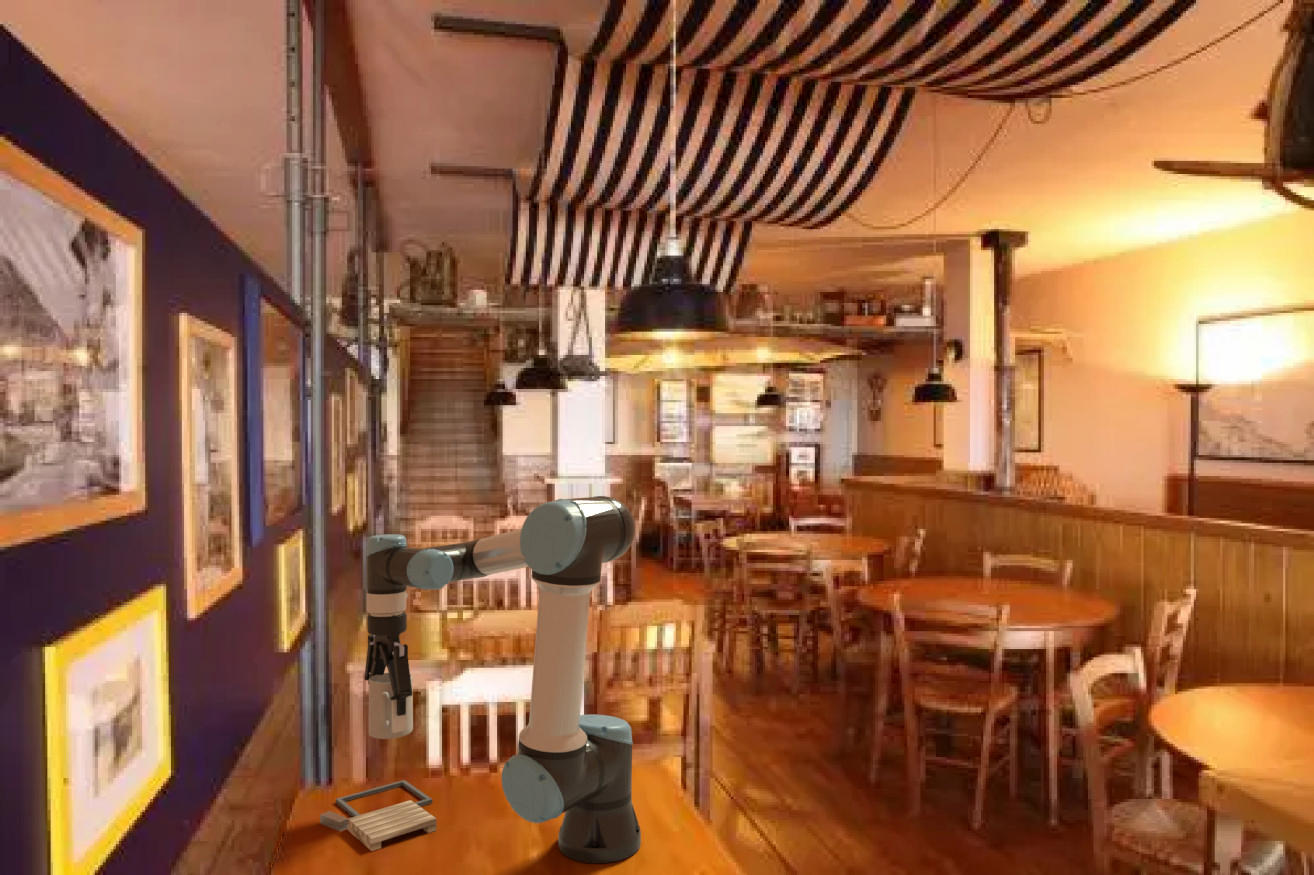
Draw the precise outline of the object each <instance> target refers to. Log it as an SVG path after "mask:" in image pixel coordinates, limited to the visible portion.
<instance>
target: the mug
mask: <svg viewBox="0 0 1314 875" xmlns="http://www.w3.org/2000/svg"><path fill="white" fill-rule="evenodd" d="M410 679H411V687H412V688H413V676H412V674H411V673H410ZM392 696H394V695H393V690H392V686H391V681H390V677H389V672H384V675H374V676H372V677H371V678H370V679H369V685H368V735H369V736H370V737H372V738H374V739H379V740H390V739H397V738H401V737H405V736H408V735H409V734H411V733H412V732H413V729H414V718H413V717H414V714H413V713H414V712H413V707H414V706H413V705H414V704H413V695H412V696H409V697H407V698H406V710H407V730H404V731H400V732H396V733H392V700H391V699H390V698H391V697H392Z"/></svg>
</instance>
